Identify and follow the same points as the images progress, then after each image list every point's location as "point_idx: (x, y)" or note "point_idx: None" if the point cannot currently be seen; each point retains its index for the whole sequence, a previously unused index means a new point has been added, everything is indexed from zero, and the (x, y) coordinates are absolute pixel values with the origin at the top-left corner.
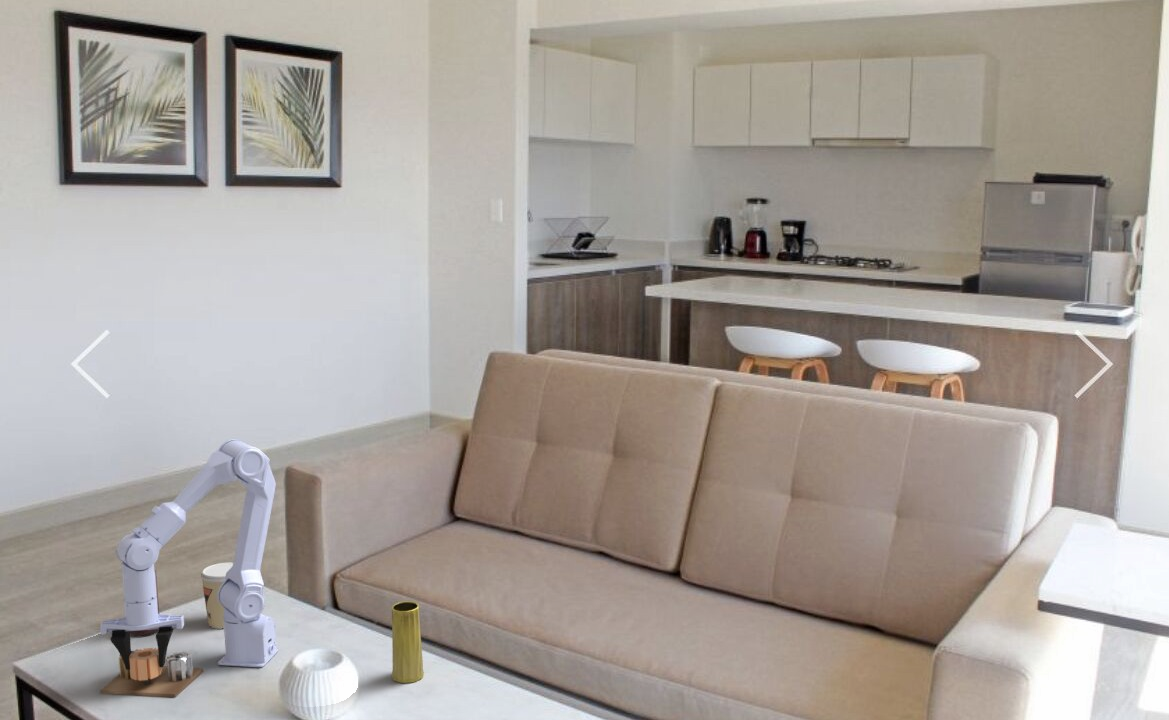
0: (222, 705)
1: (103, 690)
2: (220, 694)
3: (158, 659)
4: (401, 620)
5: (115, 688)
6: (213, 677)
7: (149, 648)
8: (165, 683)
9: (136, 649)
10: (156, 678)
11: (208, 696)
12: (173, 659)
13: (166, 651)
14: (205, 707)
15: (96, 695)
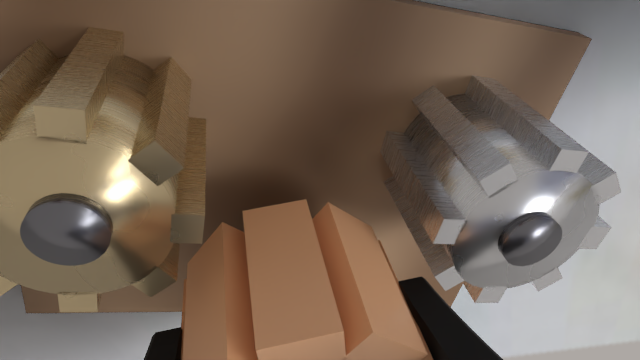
0: (611, 321)
1: (53, 312)
2: (619, 261)
3: None
4: None
5: (114, 292)
6: (618, 115)
7: (317, 345)
8: (383, 227)
9: (35, 103)
10: (313, 177)
11: (572, 277)
12: (488, 274)
13: (474, 336)
14: (555, 337)
15: (29, 316)
